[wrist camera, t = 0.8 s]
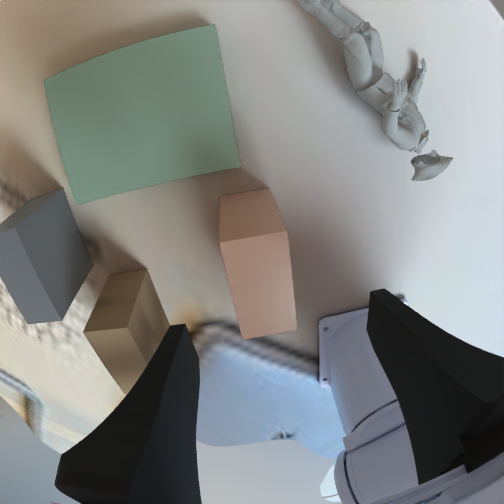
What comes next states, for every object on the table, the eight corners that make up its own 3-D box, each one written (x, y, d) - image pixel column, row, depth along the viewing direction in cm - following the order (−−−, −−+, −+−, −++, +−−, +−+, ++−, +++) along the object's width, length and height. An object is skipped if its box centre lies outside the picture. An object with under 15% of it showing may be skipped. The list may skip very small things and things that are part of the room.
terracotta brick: (280, 270, 22) (297, 329, 17) (237, 277, 22) (242, 339, 17) (269, 187, 19) (287, 230, 14) (220, 196, 19) (219, 242, 14)
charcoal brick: (93, 265, 20) (62, 320, 15) (61, 271, 20) (27, 324, 15) (63, 187, 17) (15, 227, 12) (31, 199, 17) (-18, 239, 12)
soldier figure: (360, -16, 13) (483, 126, 15) (319, 28, 17) (431, 155, 19) (301, -24, 9) (481, 181, 11) (252, 43, 14) (406, 215, 15)
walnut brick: (172, 330, 24) (163, 391, 19) (138, 334, 24) (124, 393, 19) (147, 268, 21) (127, 327, 16) (109, 274, 21) (83, 332, 16)
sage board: (239, 161, 18) (240, 167, 16) (85, 196, 18) (76, 205, 16) (215, 29, 14) (215, 24, 12) (55, 79, 14) (43, 80, 12)
